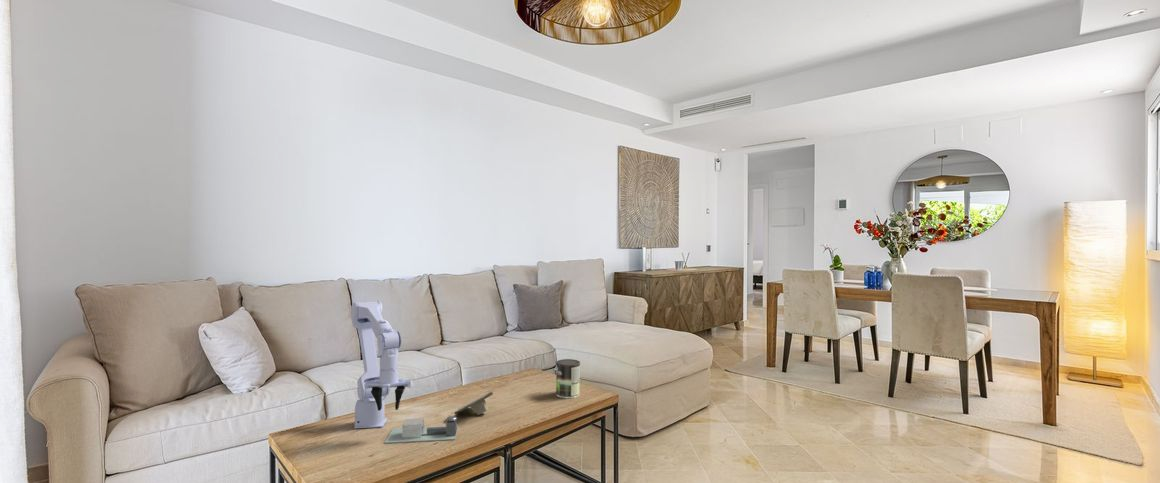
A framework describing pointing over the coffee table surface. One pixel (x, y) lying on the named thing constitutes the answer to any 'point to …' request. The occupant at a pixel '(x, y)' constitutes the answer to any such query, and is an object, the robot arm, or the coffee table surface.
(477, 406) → the grey slanted panel
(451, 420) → the coupler
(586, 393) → the coffee table surface
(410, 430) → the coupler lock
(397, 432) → the mat
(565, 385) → the coffee can
